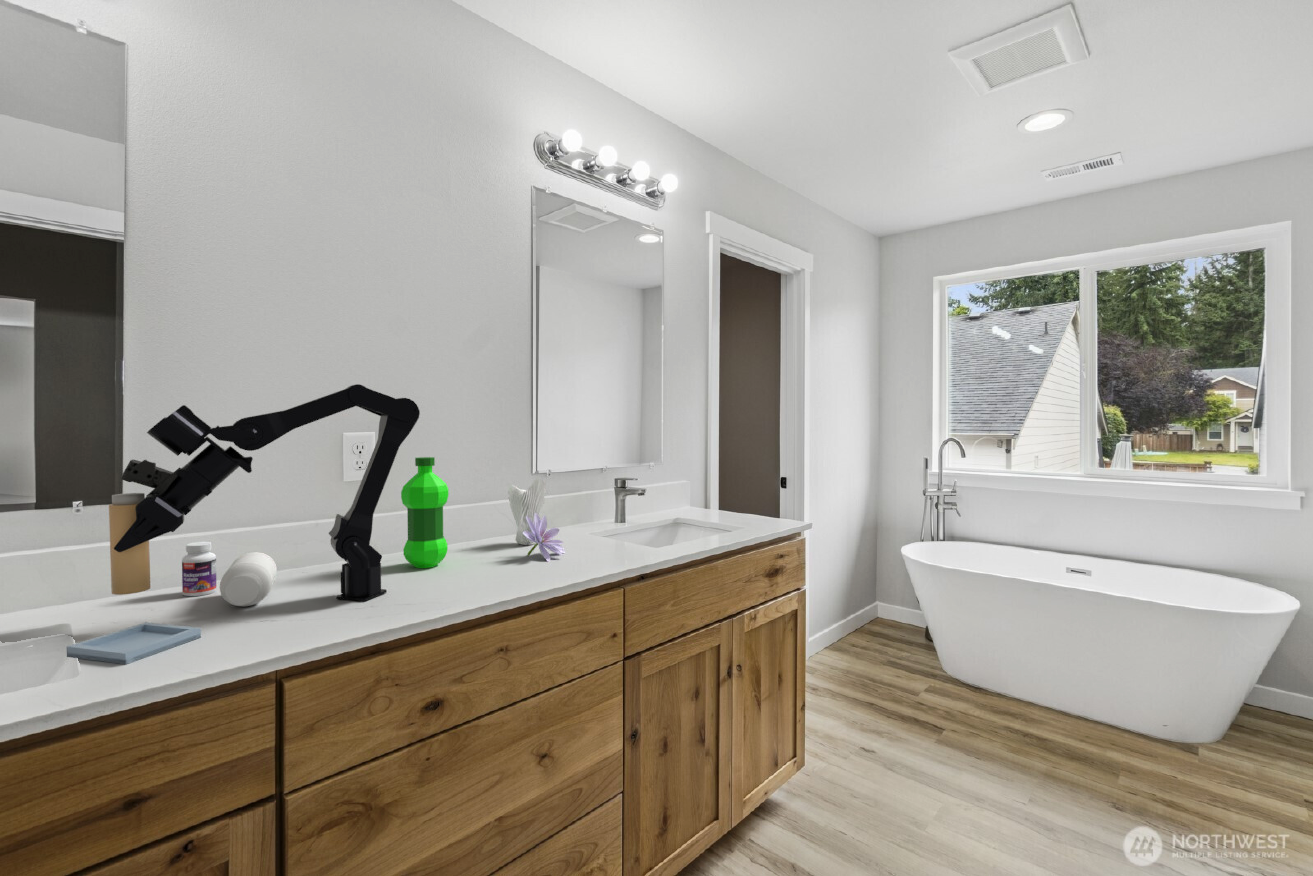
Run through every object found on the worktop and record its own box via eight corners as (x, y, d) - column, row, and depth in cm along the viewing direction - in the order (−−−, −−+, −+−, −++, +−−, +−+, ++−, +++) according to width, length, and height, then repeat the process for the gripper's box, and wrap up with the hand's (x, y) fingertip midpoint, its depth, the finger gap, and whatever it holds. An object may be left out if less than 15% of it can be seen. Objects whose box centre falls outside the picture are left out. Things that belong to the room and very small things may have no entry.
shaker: (158, 587, 103) (155, 492, 102) (129, 595, 98) (126, 496, 98) (132, 585, 103) (129, 492, 103) (103, 594, 99) (100, 496, 98)
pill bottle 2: (251, 600, 123) (238, 622, 110) (219, 571, 121) (202, 590, 107) (287, 571, 126) (279, 590, 112) (257, 542, 123) (245, 558, 110)
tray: (200, 637, 98) (200, 627, 97) (125, 664, 87) (125, 653, 87) (146, 631, 100) (146, 622, 100) (66, 657, 90) (66, 646, 89)
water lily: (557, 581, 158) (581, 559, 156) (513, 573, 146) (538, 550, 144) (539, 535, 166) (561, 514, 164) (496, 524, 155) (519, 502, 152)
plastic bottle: (455, 566, 144) (454, 458, 143) (407, 573, 138) (406, 459, 137) (443, 558, 152) (442, 455, 151) (397, 564, 146) (395, 457, 146)
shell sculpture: (505, 544, 169) (504, 478, 168) (529, 540, 175) (529, 476, 175) (524, 548, 164) (524, 480, 163) (548, 544, 170) (548, 477, 169)
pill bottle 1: (178, 598, 119) (177, 547, 118) (186, 591, 123) (185, 542, 123) (213, 595, 121) (211, 545, 120) (219, 588, 126) (218, 539, 125)
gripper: (163, 440, 110) (80, 508, 104) (153, 443, 94) (55, 523, 89) (219, 482, 115) (143, 549, 109) (218, 492, 99) (129, 571, 93)
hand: (118, 547), depth 100 cm, fingers closed on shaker, 5 cm apart
